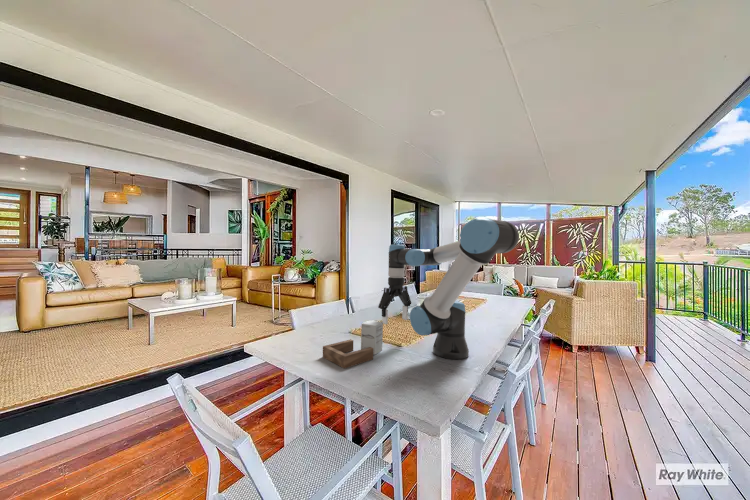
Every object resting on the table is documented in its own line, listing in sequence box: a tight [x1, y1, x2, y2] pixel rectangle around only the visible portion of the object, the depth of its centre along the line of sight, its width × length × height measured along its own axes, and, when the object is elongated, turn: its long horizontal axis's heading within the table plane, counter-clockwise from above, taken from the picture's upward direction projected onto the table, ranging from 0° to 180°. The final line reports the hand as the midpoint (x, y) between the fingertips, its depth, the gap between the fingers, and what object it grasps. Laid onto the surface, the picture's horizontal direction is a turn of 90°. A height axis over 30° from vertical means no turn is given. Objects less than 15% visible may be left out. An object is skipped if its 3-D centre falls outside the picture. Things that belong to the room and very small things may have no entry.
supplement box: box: [360, 320, 384, 356], centre depth 128 cm, size 7×7×13 cm
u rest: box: [322, 338, 374, 370], centre depth 119 cm, size 15×14×4 cm
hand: (395, 321), depth 138 cm, fingers open, 13 cm apart
